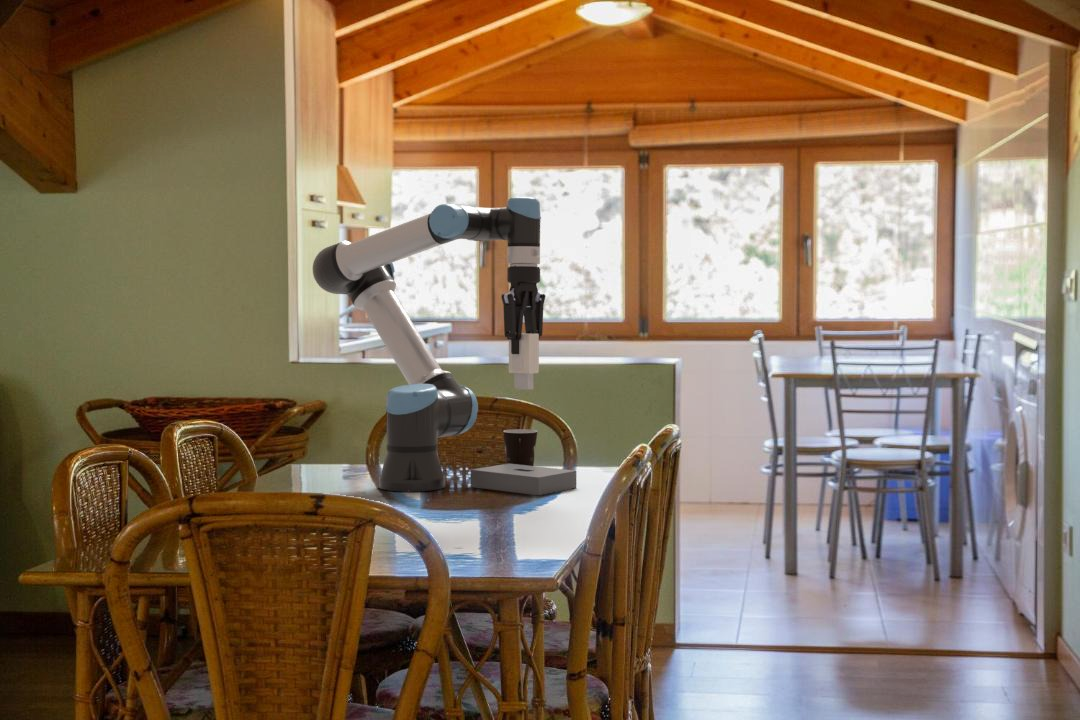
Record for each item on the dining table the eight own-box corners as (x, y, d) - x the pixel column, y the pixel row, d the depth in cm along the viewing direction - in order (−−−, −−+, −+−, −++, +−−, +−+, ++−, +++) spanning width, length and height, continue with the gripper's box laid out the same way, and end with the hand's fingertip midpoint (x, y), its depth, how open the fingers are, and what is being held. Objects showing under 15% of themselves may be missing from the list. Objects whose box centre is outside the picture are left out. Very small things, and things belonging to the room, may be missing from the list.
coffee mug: (512, 467, 333) (512, 428, 333) (543, 469, 329) (543, 430, 329) (491, 473, 323) (491, 433, 322) (522, 475, 319) (522, 434, 318)
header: (470, 486, 300) (470, 469, 300) (509, 480, 311) (509, 463, 311) (538, 495, 288) (538, 477, 287) (576, 488, 299) (576, 470, 298)
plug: (508, 388, 298) (508, 333, 298) (518, 388, 301) (518, 333, 301) (529, 389, 295) (529, 333, 294) (538, 389, 298) (538, 333, 297)
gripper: (513, 264, 288) (513, 370, 289) (558, 266, 301) (558, 367, 302) (487, 265, 292) (487, 369, 294) (533, 266, 305) (533, 366, 307)
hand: (523, 368), depth 298 cm, fingers closed on plug, 3 cm apart
